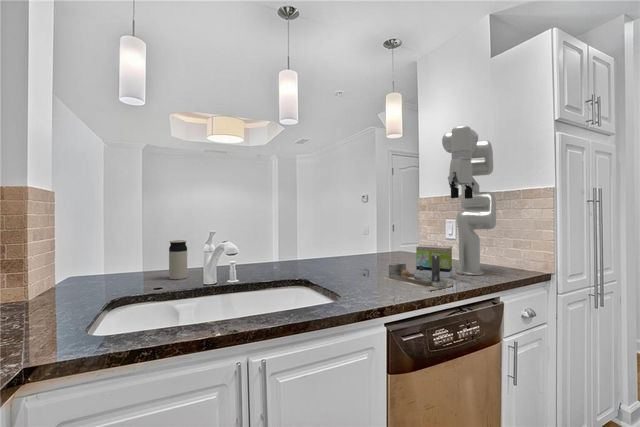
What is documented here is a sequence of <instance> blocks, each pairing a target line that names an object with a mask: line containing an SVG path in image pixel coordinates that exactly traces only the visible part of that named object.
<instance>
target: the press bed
mask: <svg viewBox="0 0 640 427" xmlns="http://www.w3.org/2000/svg"><path fill="white" fill-rule="evenodd" d="M402 270H407V263H406V262H397V263H389V264H388V276H387V277H386V276H385V277H383V279H384V280H388V281H389V280H390V281H394V282H398V283H403V284H408V285H411V286H416V287H420V288H425V289H429V290H428V292H429V291H430V292H429V293H432V291H434V292H438V291H441V290H442V289H443V290H447V289H450V288H451V287H452V288H454V284H453V283H449V282H448V285H443V286H439V287H435V286H430V282H426V281H421V280H416V279H415V273H410V272H409V273H410V276H409V278H406V277H401V271H402ZM429 278H432V276H429ZM440 279H441V278H440ZM441 280H444V279H441ZM446 288H447V289H446ZM437 290H438V291H437Z"/></svg>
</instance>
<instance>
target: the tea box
mask: <svg viewBox="0 0 640 427" xmlns="http://www.w3.org/2000/svg"><path fill="white" fill-rule="evenodd" d="M415 253H416V256H415V257H416V261H415V262H416V263H415V267H416V268H415V273H426V274H429V277H432V255H438V256H440V278H441V277H442V278H451V277H452V275H453V274H452V273H453V265H452V264H453V246H450V245H433V244H432V245H431V244H419V245H417V246H416V252H415Z"/></svg>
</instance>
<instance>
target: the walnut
mask: <svg viewBox="0 0 640 427" xmlns="http://www.w3.org/2000/svg"><path fill="white" fill-rule="evenodd" d="M409 276H410V271H409V270H408V269H406V270H402V271H401V277H406V278H409Z"/></svg>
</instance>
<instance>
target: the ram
mask: <svg viewBox="0 0 640 427" xmlns="http://www.w3.org/2000/svg"><path fill="white" fill-rule="evenodd" d="M414 274H415V279H416V280H421V281H426V282H430V286H435V287H438V288H440V287H439V286H443V285H448V283H449V281H448V280H446V279H443V280H441V277H440V256H438V255H432V276H431V277H432V278H429V277H430V276H429V274H426V273H416V272H415V273H414ZM448 286H449V285H448ZM443 287H444V286H443Z"/></svg>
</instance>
